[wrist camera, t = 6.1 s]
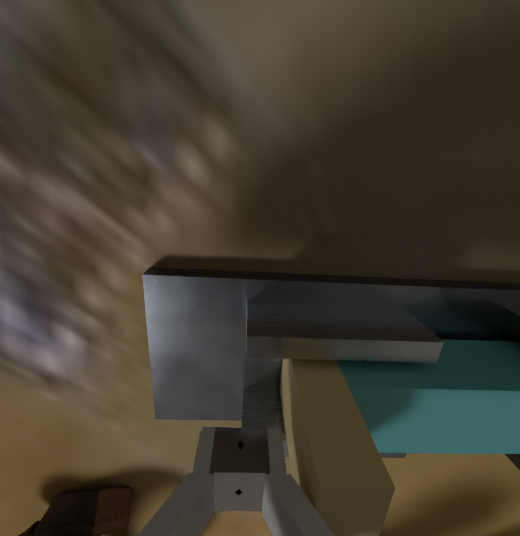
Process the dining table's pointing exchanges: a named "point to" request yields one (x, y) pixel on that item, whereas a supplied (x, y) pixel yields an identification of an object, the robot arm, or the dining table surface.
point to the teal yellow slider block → (393, 422)
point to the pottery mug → (85, 513)
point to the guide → (299, 333)
